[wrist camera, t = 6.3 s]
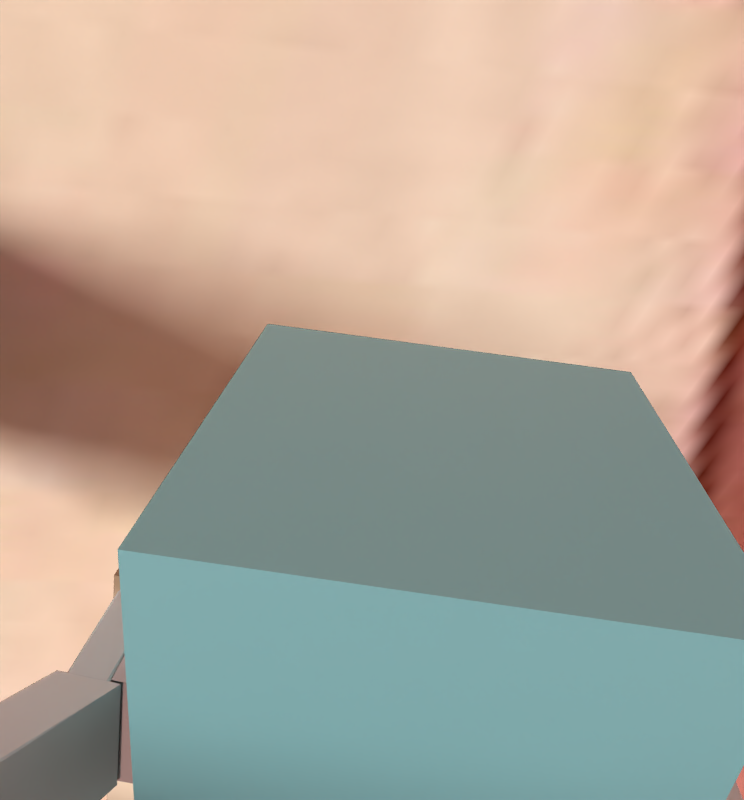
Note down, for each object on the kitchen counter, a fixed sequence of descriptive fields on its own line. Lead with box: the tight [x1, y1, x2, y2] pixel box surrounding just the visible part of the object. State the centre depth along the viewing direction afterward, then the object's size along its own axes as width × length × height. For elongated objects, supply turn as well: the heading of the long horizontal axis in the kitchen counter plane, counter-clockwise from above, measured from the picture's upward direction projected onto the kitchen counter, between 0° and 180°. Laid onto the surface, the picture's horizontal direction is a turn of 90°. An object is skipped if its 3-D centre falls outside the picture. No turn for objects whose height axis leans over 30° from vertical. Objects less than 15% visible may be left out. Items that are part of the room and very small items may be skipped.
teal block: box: [118, 324, 744, 800], centre depth 9 cm, size 9×5×5 cm, turn 173°
